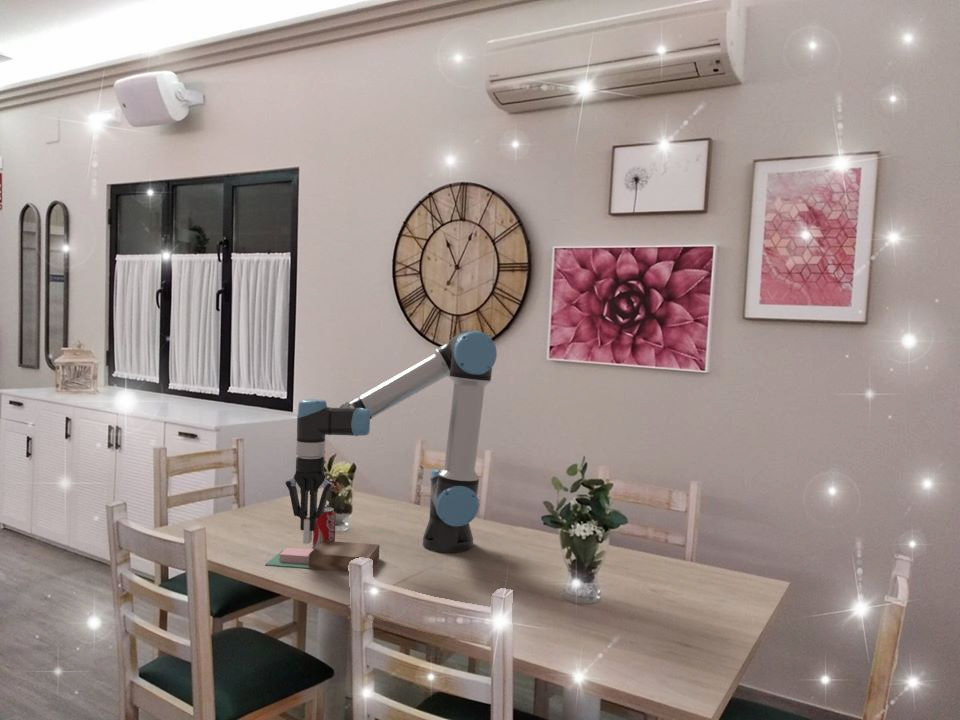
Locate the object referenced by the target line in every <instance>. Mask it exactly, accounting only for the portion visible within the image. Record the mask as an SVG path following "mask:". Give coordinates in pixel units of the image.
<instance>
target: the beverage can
mask: <svg viewBox="0 0 960 720" xmlns="http://www.w3.org/2000/svg"><path fill="white" fill-rule="evenodd" d="M317 510H318V507H317ZM334 510H335V509H334V508H333V507H330V506H325V509H324V512H323V515H322V516H321V517H319V518H316V528H315V530H314V531H312V549H313V550H314V549H315V548H316V547H317V546H318V545H320V544H321V543H322V542H323V541H335V540H336V522H337V521H336V519H337V514H336V512H335V511H334ZM335 542H336V541H335Z"/></svg>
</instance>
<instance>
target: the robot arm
mask: <svg viewBox="0 0 960 720" xmlns="http://www.w3.org/2000/svg"><path fill="white" fill-rule="evenodd" d="M497 356H498V351H497V347H496V344H495V342H494V341H493V339H492V338H491V337H490V336H489V335H488V334H487V333H485V332H483V331H481V330H479V331H478V330H465V331H462V332H459V333H457V334H456V335H455V336H453V337H452V338H451V339H450V340H448V341H447V342H445V343H444V344H442V345H440V346H439V347H437V348H435V350H434V353H433V354H431V355H430V356H428V357H426V358H424V359H422V360H421V361H419V362H417V363H415V364H413V365H412V366H411V367H409V368H407V369H405V370H403V371H401V372H400V373H398V374H396V375H394V376H392V377H391V378H389V379H387V380H385V381H383V382H382V383H380V384H378V385H376V386H375V387H373V388H371V389H369V390H367V391H366V392H364V393H362V394H360V395H359V396H357V397H356V398H353V399H352V400H350V401H346V402H344V403H342V404H341V405H340V406H339V407H329V406H327V405H328V404H327V401H326V400H324V399H317V398H316V399H315V398H309V399H302V400H300V401H299V402H298V408H297V416H296V417H297V419H296V422H297V424H296V425H297V426H296V451H295V452H296V454H295V455H296V456H297V457H296V459H295V474H294V475H293V478H290V479H289V480H286V481H285V486H286V487H287V489H288V492H289V496H290V497H289V498H290V502H291V507H292V510H293V511H292V512H293V515H294V517H298V518H300V528H299V529H300V531H303V540H302V543H303V544H306V545H307V544H308V545H309V544H310V543H311V542H313V531H314V530H315V528H316V518H319V517H321V516H322V515H323V512H324V509H325V507H326V505H327V501H328V498H329V495H330V490H331V489H332V487H333V486H334V482H332V481H329V480H328V479H326V477H327V476H326V475H325V457H324V456H325V453H326V436H354V437H359V436H368V435H369V434H370V427H371V426H370V425H371V420H372V419H373V418H375V417H377V416H379V415H380V414H383V413H384V412H386V411H388V410H389V409H391V408H393V407H394V406H396V405H398V404H400V403H401V402H403V401H405V400H407V399H409V398H411V397H412V396H414V395H416V394H418V393H419V392H421V391H423V390H425V389H427V388H428V387H430V386H433V384H436V383H438V382H439V381H441V380H443V379H444V378H447V377H449V378H450V379H451V381H452V382H453V389H452V390H453V391H452V397H451V407H450V409H451V410H450V416H449V417H450V418H449V425H448V431H447V432H448V433H447V441H446V450H445V457H444V458H445V459H444V467H443V468H436V469H435V468H434V469H433V470H432V471H431V477H430V480H429V481H430V501H429V502H430V503H429V519H428V522H427V525H426V528H425V530H424V533H423V536H422V546H423V547H424V548H425V549H427V550H431V551H434V552H440V553H460V552H465V551H470V550H471V549H472V548H473V547H474V537H473V533H472V529H471V526H470V525H471V524H470V523H471V522H472V521H473V520H474V519H475V518H476V517H477V515H478V514H479V513H478V512H479V508H480V502H479V497H478V490H479V484H480V483H479V482H480V476H479V475H478V473H476V462H477V461H476V460H477V454H478V445H479V437H480V427H481V420H482V412H483V411H482V410H483V403H484V402H483V401H484V394H485V387H486V386H487V385H488V384H489V383H491V382H492V373H493V367H494V365H495V363H496V361H497ZM297 486H298V487H299V490H300V500H299V494H298V488H297ZM321 486H322V488H323V489H322V492H321V495H320V500H319V504H318V493H319V489H320V487H321ZM308 506H309V513H308ZM317 508H318V510H317Z"/></svg>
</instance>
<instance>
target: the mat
mask: <svg viewBox="0 0 960 720" xmlns="http://www.w3.org/2000/svg"><path fill="white" fill-rule="evenodd" d="M283 551H284V550H281V551H280V552H279V553H277V554H276V555H275V556H274V557H272V558H271V559H270V560H269V561H267V562H266V563H265V564H264V565H265V566H271V567H282V568H297V569H307V570H308V569H309V564H305V563H291V562H279V554H280V553H282V552H283Z"/></svg>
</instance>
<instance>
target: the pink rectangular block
mask: <svg viewBox="0 0 960 720" xmlns="http://www.w3.org/2000/svg"><path fill="white" fill-rule="evenodd" d="M313 550H314V549H313V548H311V549H310V548H298V547H297V548H295V547H286V548H285V549H284V550H282V551H283V552H282V553H280V552H279V553H280V554H279V553H278V554H279V562H291V563H305V564H309V554H310V553H311V552H312V551H313Z"/></svg>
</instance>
